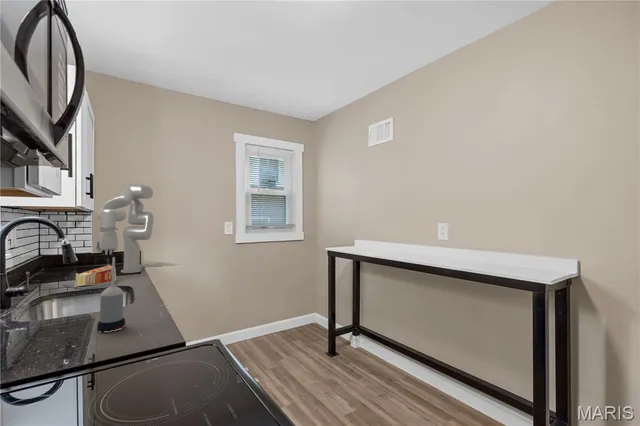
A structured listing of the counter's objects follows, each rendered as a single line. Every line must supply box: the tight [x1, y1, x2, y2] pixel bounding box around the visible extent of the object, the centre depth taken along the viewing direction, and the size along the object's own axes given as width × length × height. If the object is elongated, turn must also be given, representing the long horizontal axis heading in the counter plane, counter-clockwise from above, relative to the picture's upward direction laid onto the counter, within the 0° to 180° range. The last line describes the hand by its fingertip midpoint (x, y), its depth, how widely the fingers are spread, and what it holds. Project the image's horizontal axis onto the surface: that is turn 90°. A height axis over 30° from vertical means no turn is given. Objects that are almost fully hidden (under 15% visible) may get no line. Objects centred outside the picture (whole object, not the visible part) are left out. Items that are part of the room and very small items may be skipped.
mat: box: [62, 281, 118, 291], centre depth 177 cm, size 18×20×1 cm
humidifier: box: [96, 256, 126, 332], centre depth 110 cm, size 8×8×25 cm
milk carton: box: [74, 264, 117, 287], centre depth 175 cm, size 9×9×20 cm
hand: (107, 261), depth 184 cm, fingers closed
